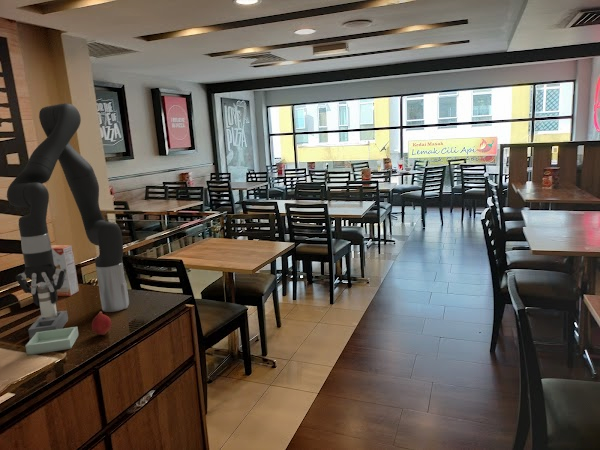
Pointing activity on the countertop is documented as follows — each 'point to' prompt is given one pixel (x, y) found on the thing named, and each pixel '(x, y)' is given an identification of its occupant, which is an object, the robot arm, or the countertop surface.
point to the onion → (101, 324)
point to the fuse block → (48, 323)
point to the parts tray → (52, 340)
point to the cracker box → (64, 261)
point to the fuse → (54, 314)
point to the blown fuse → (45, 301)
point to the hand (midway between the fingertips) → (46, 303)
